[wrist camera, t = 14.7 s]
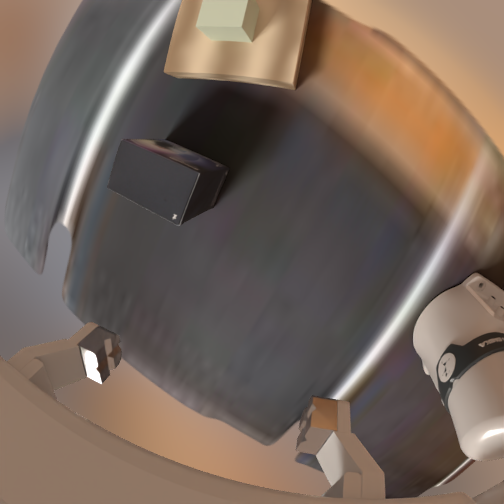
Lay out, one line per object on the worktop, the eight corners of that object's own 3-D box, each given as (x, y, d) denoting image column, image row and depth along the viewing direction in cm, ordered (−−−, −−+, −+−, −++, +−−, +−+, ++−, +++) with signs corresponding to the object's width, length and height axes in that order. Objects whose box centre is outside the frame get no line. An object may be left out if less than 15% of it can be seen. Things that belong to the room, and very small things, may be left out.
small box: (232, 165, 37) (202, 171, 27) (213, 209, 39) (180, 230, 30) (165, 136, 37) (120, 136, 28) (150, 178, 40) (104, 190, 30)
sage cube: (259, 8, 25) (250, -10, 21) (252, 42, 27) (241, 27, 23) (219, 7, 26) (205, -10, 22) (211, 40, 28) (195, 26, 23)
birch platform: (312, 0, 27) (310, -14, 23) (295, 90, 32) (292, 83, 28) (198, -5, 29) (187, -16, 25) (177, 77, 34) (163, 72, 30)
